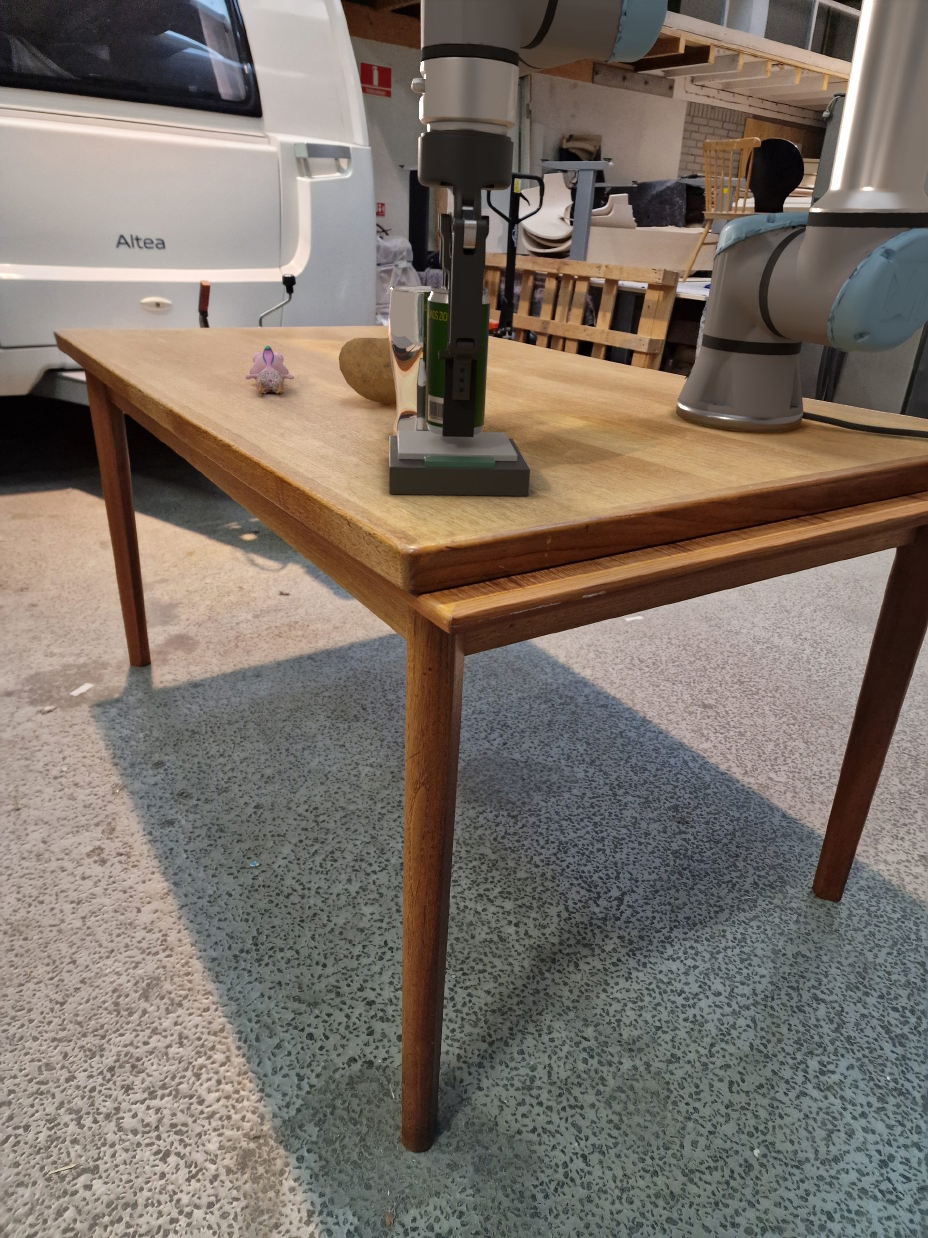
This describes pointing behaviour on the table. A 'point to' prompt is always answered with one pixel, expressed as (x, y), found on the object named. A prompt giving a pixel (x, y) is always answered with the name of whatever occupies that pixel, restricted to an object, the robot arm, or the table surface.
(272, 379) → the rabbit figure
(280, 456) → the table surface
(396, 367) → the beer glass
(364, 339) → the potato
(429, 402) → the beer can
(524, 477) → the scale
